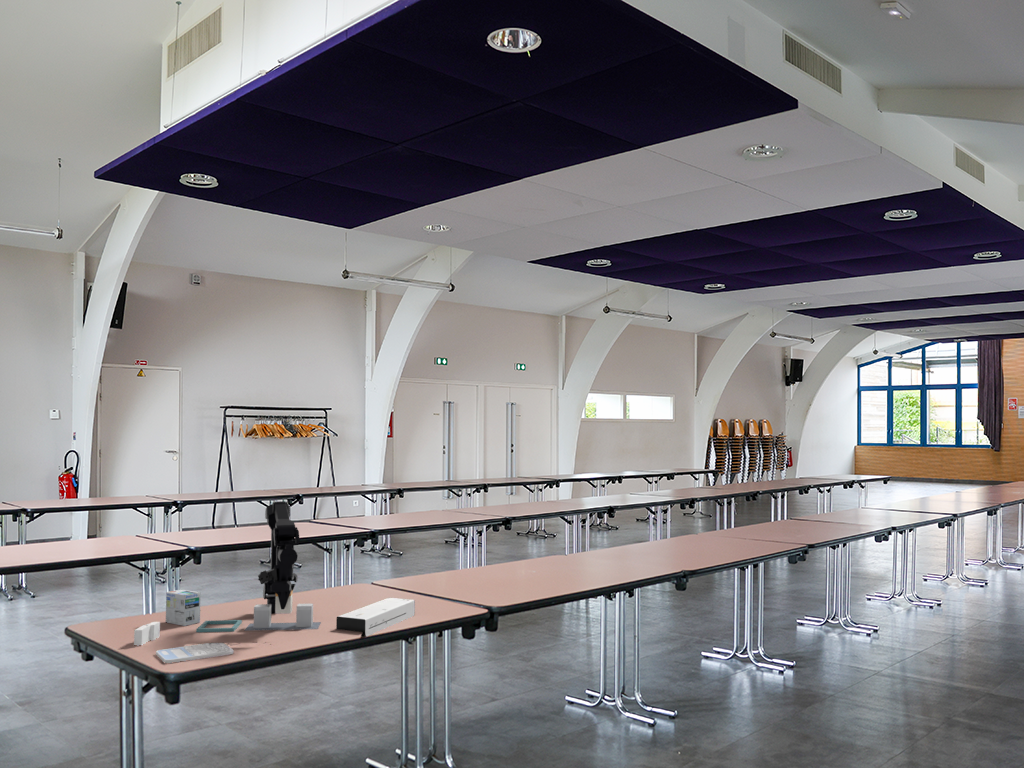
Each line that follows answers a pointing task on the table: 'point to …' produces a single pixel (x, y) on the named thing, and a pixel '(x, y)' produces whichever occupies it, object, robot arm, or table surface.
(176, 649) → the calculator
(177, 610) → the light bulb box
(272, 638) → the table surface
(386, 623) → the laminator
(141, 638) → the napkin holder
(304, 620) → the block
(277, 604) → the block
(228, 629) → the teal tray
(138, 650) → the table surface
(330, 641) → the table surface
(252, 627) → the board
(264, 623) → the block
